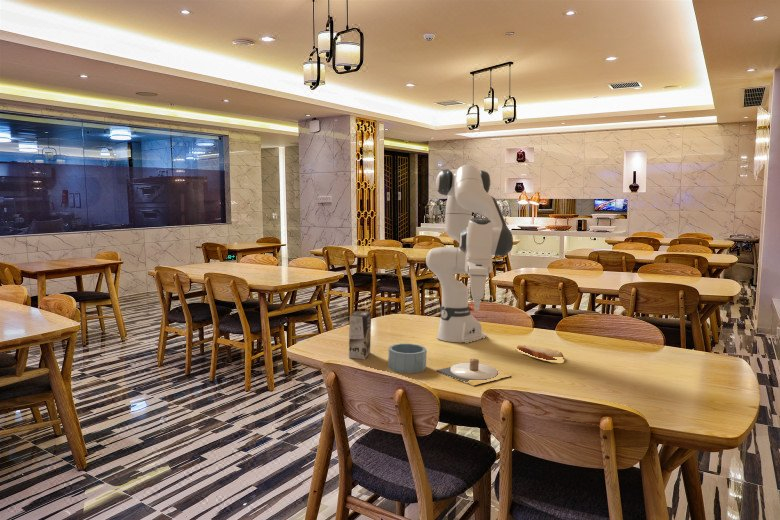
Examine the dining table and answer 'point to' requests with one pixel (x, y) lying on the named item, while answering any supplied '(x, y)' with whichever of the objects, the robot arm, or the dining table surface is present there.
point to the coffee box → (360, 334)
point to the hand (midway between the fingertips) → (476, 307)
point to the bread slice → (540, 352)
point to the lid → (473, 370)
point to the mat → (447, 372)
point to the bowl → (407, 358)
